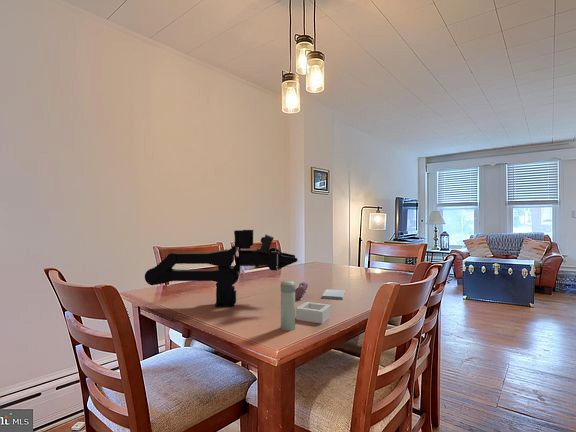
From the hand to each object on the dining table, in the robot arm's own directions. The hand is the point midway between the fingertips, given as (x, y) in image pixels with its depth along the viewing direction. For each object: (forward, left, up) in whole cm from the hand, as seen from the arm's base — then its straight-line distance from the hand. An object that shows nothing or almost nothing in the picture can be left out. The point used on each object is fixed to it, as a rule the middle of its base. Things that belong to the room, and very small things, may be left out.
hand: (296, 258), depth 117 cm
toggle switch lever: (-5, -26, -17) cm, 31 cm away
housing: (+4, -17, -17) cm, 24 cm away
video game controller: (+3, +10, -17) cm, 20 cm away
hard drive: (+17, +12, -17) cm, 27 cm away
